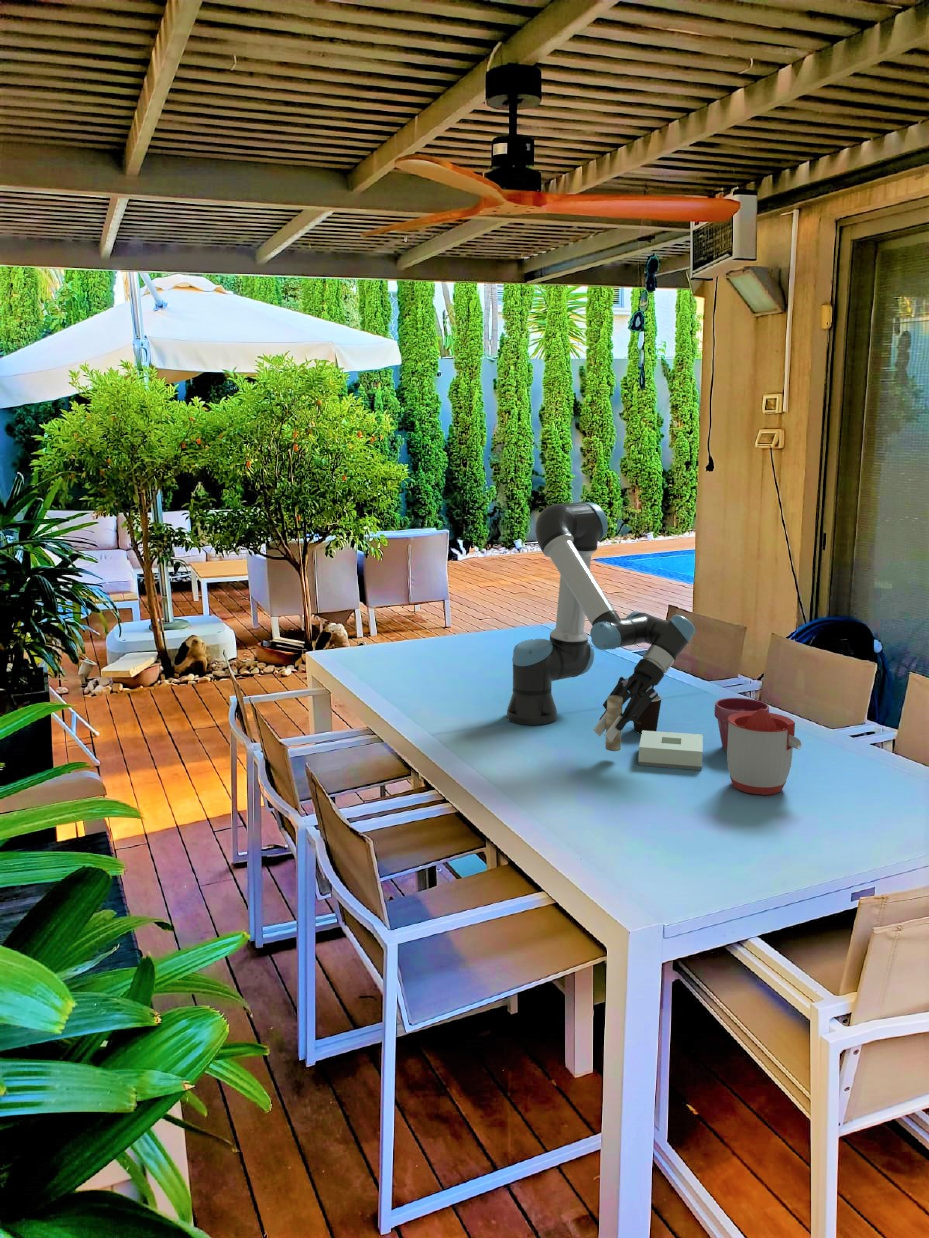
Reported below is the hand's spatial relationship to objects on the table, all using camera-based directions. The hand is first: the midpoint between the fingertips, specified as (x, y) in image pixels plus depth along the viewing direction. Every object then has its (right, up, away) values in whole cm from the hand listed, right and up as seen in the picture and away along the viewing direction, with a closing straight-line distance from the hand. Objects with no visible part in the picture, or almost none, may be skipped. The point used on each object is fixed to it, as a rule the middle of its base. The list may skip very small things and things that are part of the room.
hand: (602, 735), depth 247 cm
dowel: (+3, -4, +3) cm, 6 cm away
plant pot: (+39, -5, +11) cm, 41 cm away
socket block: (+19, -7, +4) cm, 20 cm away
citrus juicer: (+36, -11, -17) cm, 41 cm away
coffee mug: (+17, -2, +28) cm, 33 cm away
